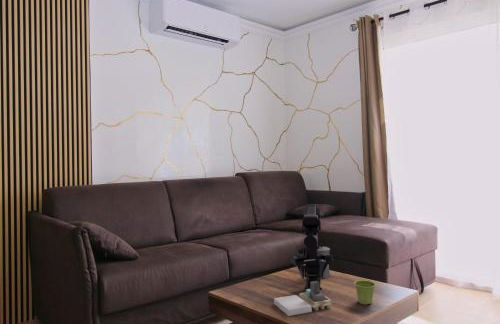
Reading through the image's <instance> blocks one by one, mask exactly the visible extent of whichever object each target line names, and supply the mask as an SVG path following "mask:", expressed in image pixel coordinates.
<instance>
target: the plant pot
mask: <svg viewBox="0 0 500 324" xmlns="http://www.w3.org/2000/svg"><path fill="white" fill-rule="evenodd" d="M354 285H355V288H356V297H357V302H358V303H359V304H360V305H372V304H373V300H374V299H373V297H374V290H375V287H376V286H377V285H376V283H375V282H374V281H372V280H365V279H361V280H355V281H354Z"/></svg>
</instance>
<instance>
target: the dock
mask: <svg viewBox="0 0 500 324" xmlns="http://www.w3.org/2000/svg"><path fill="white" fill-rule="evenodd" d="M273 304H274V305H275V306H276V308H279V310H281V311H282V312H283V313H284V314H285V315H286V316H288V317H291V316H297V315H301V314H302V315H303V314H307V313H312V312H313V311H312V310H313V308H312V306H311V305H309V304H308V303H307V302H305V301H304V300H302V299H301V298H299V295H297V294H294V295H287V296H280V297H274V298H273Z"/></svg>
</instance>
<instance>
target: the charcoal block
mask: <svg viewBox="0 0 500 324" xmlns="http://www.w3.org/2000/svg"><path fill="white" fill-rule="evenodd" d="M324 296H325V294H323V293H321V292H320V293H317V294H313V301H314V302H319V301H325V297H324Z"/></svg>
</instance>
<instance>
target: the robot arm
mask: <svg viewBox="0 0 500 324" xmlns="http://www.w3.org/2000/svg"><path fill="white" fill-rule="evenodd" d="M321 218H322V217H321V209H320V208H319V207H318V205H317V204H306V207H305V208H304V209H303V218H302V222H301V225H302V228H301V229H302V230H301V232H302V233H304V239H303V248H302V247H301V246H297V247H295V253H296V255H295V256H291V257H290V264H292V265H294V266H295V267H297V270H298V272H299V275H300V277H301V279H302V280H304V278H306V279H305V286H304V288H306V290H307V289H310V282H313V281H317V282H319V286H320V290H323V288H322V287H321V279H323V278H322V277H323V273H324V271H325V269H326V267H327V265H328V266H329V264H331V262H333V260H334V259H333V255H331V254H330V253H329V254H328V253H320V254H319V255H318V249H319V247H320V246H319V243H318V239H319V237H318V235H319V233H320V231H321V230H322V228H321V227H322V222H321ZM304 263H305V264H304ZM319 273H320V274H319Z"/></svg>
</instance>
